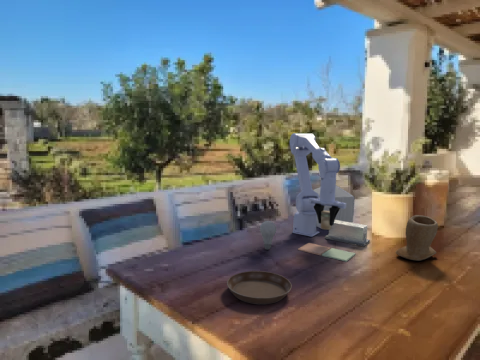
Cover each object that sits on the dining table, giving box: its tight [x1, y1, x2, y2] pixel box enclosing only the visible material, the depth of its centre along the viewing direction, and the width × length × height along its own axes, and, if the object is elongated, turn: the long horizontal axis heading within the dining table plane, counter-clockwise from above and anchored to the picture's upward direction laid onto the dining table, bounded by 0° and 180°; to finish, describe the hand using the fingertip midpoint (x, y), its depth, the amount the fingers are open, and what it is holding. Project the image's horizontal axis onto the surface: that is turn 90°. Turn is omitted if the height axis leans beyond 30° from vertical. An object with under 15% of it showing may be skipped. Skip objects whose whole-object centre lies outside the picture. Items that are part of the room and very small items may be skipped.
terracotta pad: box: [297, 242, 332, 256], centre depth 135 cm, size 9×9×1 cm
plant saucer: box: [226, 270, 293, 305], centre depth 99 cm, size 18×18×3 cm
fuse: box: [320, 211, 331, 231], centre depth 140 cm, size 4×4×6 cm
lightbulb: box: [259, 220, 277, 251], centre depth 133 cm, size 6×6×11 cm
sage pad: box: [321, 247, 356, 262], centre depth 129 cm, size 9×9×1 cm
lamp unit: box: [324, 220, 371, 247], centre depth 146 cm, size 16×7×7 cm, turn 53°
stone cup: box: [395, 214, 439, 262], centre depth 127 cm, size 15×12×15 cm
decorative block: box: [313, 184, 356, 229], centre depth 170 cm, size 16×16×20 cm
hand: (326, 223), depth 140 cm, fingers closed on fuse, 4 cm apart
